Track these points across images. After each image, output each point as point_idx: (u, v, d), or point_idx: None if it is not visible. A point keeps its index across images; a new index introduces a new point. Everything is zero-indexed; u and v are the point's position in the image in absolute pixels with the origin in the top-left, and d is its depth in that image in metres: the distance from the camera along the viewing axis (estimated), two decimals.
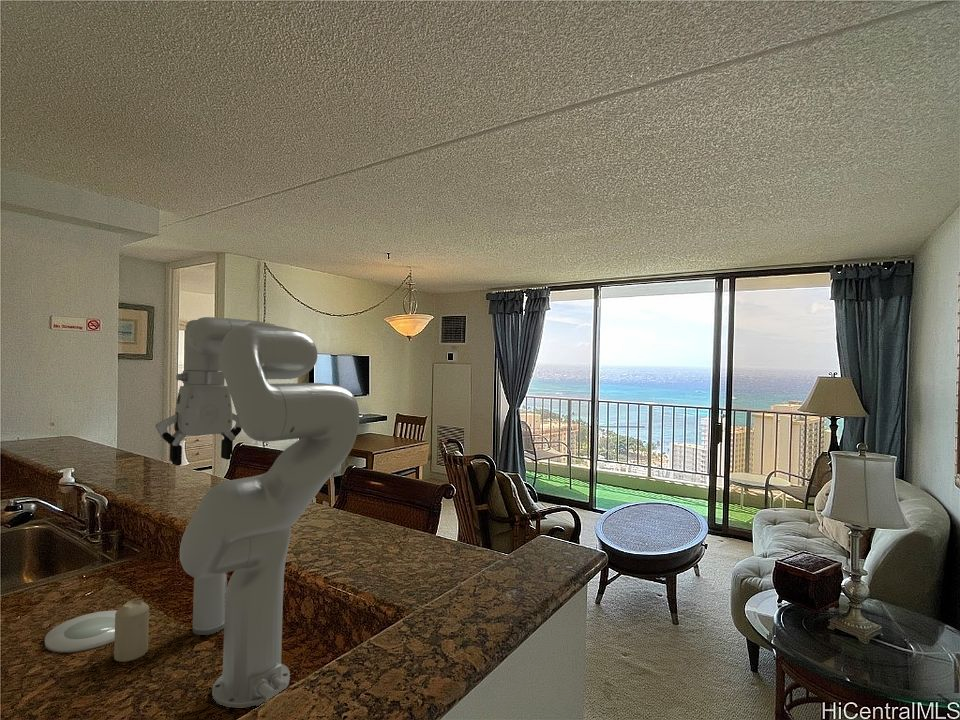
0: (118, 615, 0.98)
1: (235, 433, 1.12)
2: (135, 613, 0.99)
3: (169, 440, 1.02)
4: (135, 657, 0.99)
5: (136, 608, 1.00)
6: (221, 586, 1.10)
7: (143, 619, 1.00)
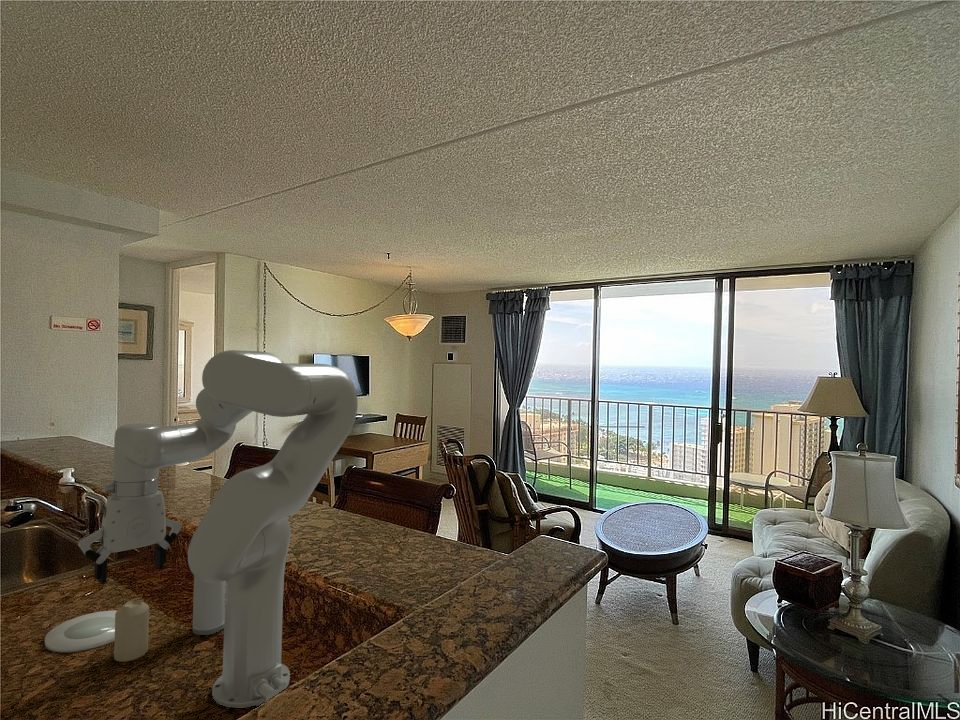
0: (118, 615, 0.98)
1: (170, 540, 1.05)
2: (135, 613, 0.99)
3: (93, 558, 0.95)
4: (135, 657, 0.99)
5: (136, 608, 1.00)
6: (221, 586, 1.10)
7: (143, 619, 1.00)
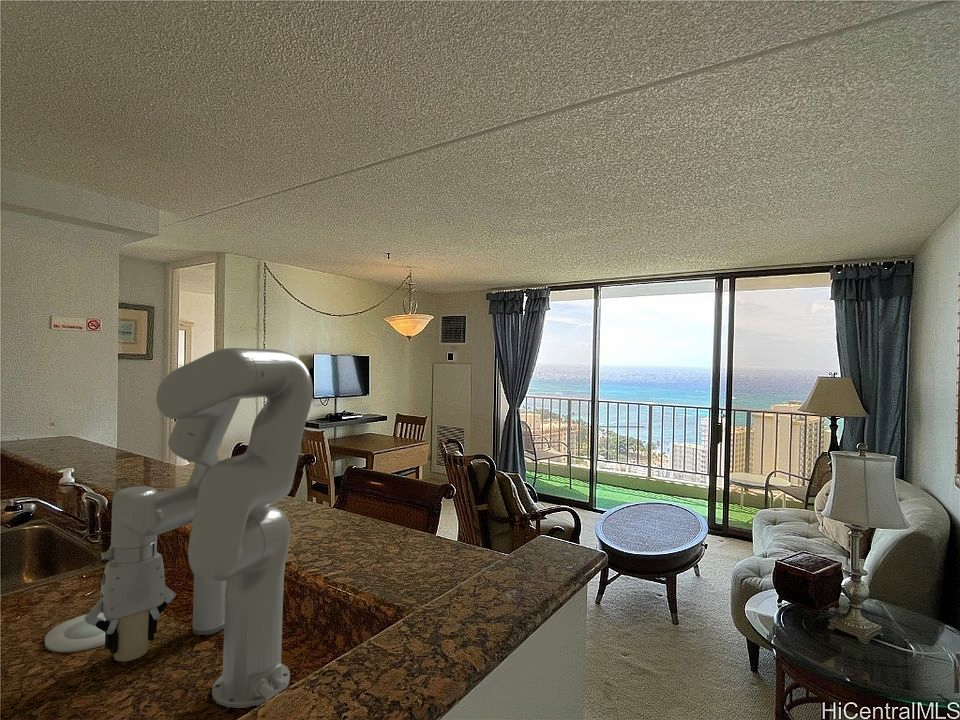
0: None
1: (160, 610, 1.04)
2: None
3: (103, 629, 0.97)
4: (135, 657, 0.99)
5: None
6: (221, 586, 1.10)
7: (143, 619, 1.00)
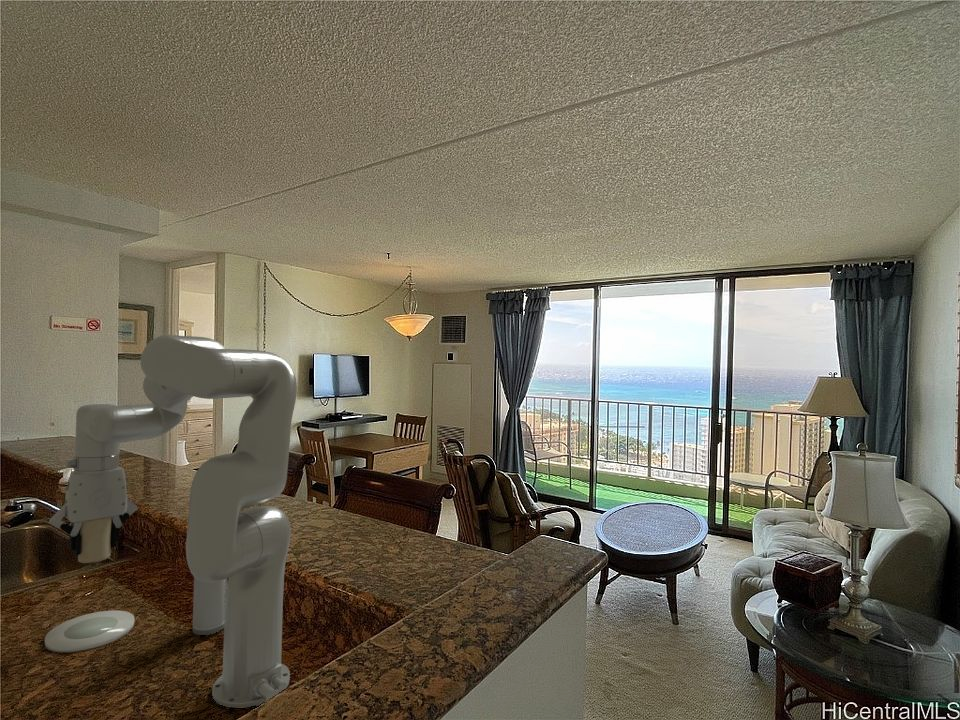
0: None
1: (122, 520, 1.11)
2: (97, 519, 1.06)
3: (67, 531, 1.04)
4: (97, 559, 1.06)
5: None
6: (221, 586, 1.10)
7: (105, 525, 1.07)
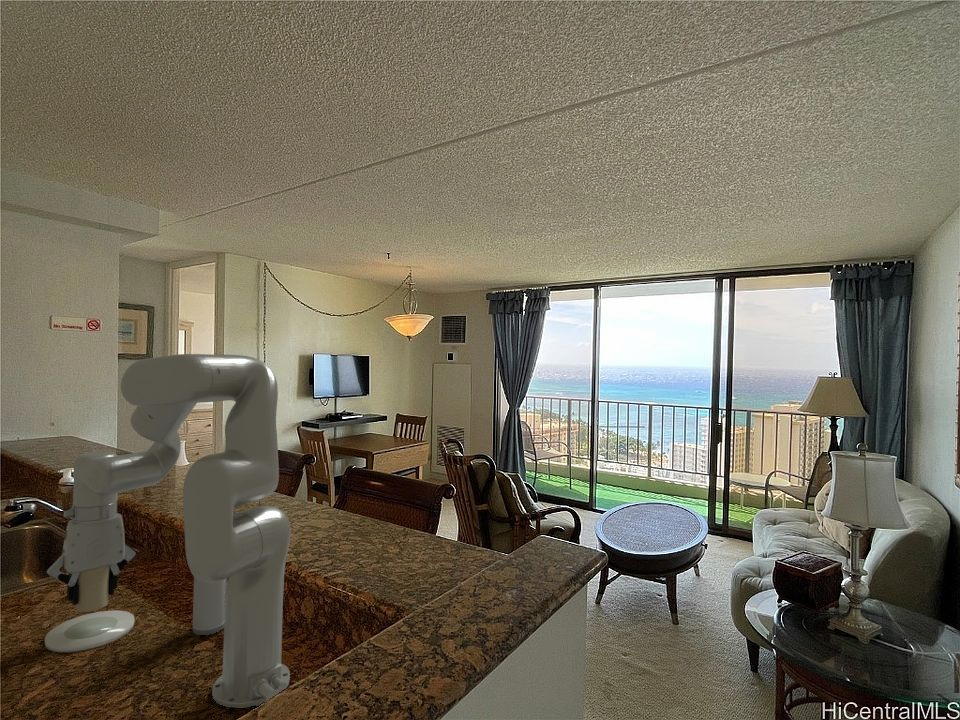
0: None
1: (120, 566, 1.11)
2: (95, 568, 1.06)
3: (65, 581, 1.04)
4: (95, 608, 1.06)
5: None
6: (221, 586, 1.10)
7: (103, 573, 1.08)
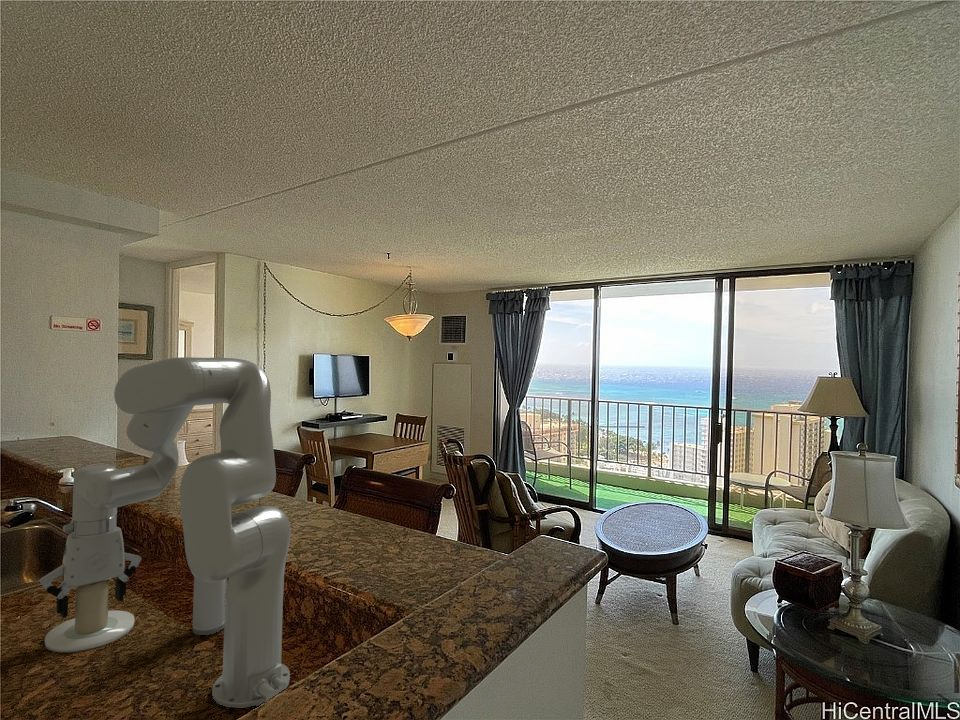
0: (78, 591, 1.06)
1: (129, 573, 1.12)
2: (94, 589, 1.06)
3: (54, 594, 1.03)
4: (94, 630, 1.06)
5: (95, 585, 1.07)
6: (221, 586, 1.10)
7: (102, 595, 1.07)
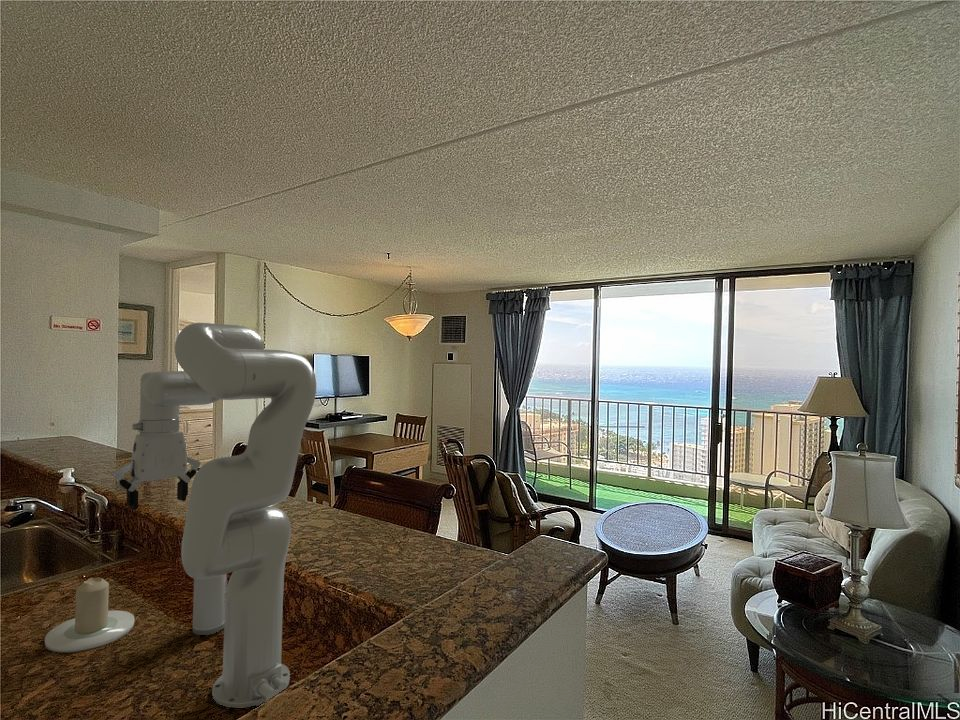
0: (78, 590, 1.06)
1: (190, 475, 1.19)
2: (94, 589, 1.06)
3: (126, 486, 1.09)
4: (94, 630, 1.06)
5: (96, 584, 1.07)
6: (221, 586, 1.10)
7: (102, 595, 1.07)
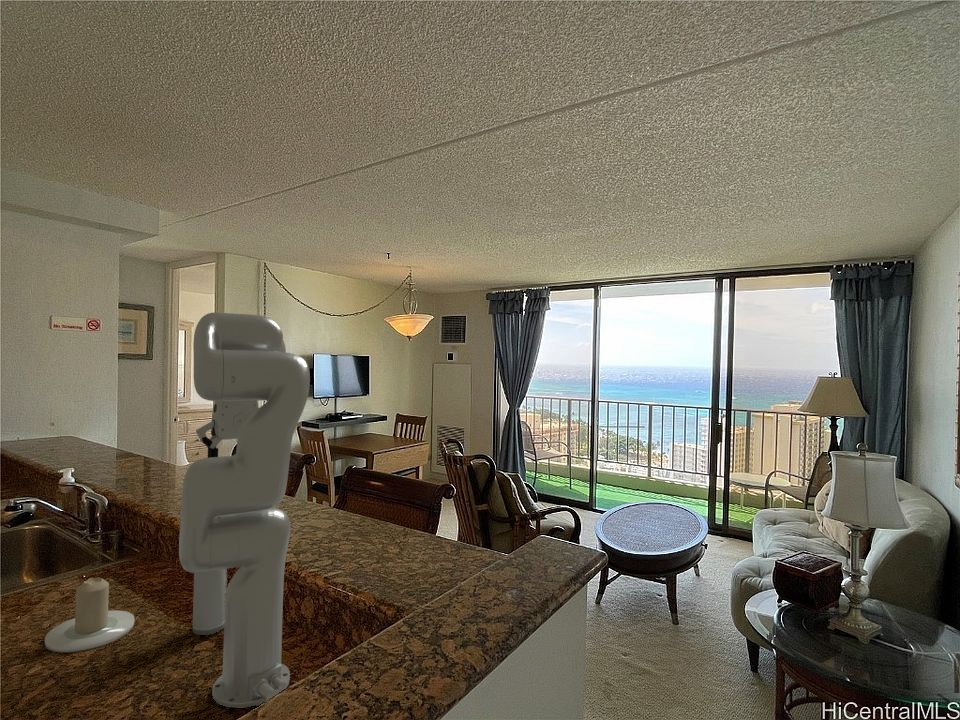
0: (78, 590, 1.06)
1: None
2: (94, 589, 1.06)
3: (207, 443, 1.19)
4: (94, 630, 1.06)
5: (95, 585, 1.07)
6: (221, 586, 1.10)
7: (102, 595, 1.07)
